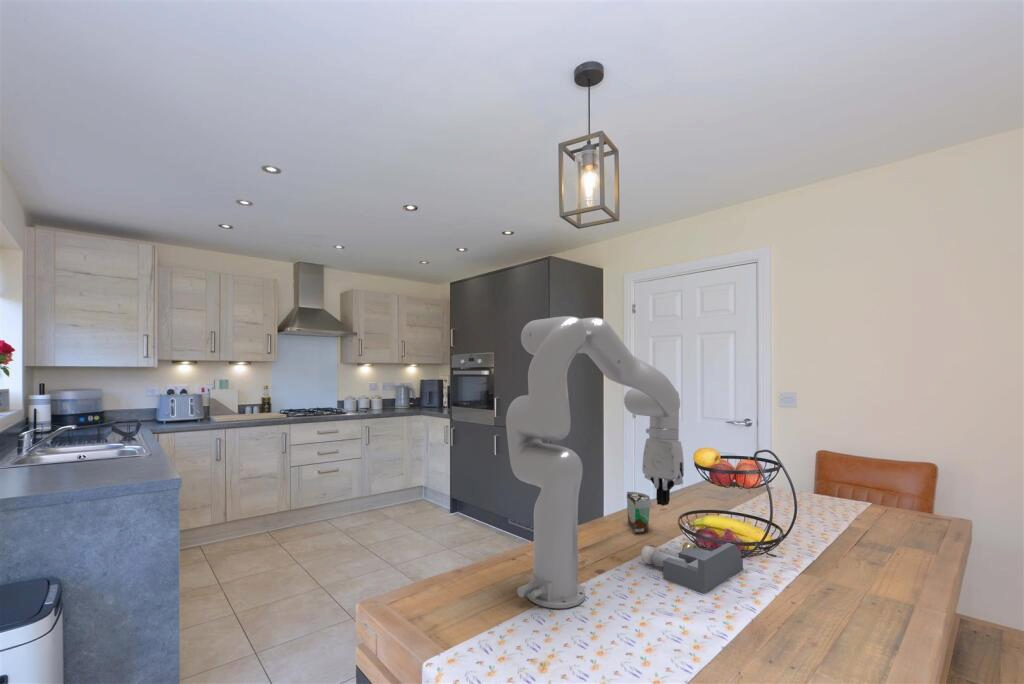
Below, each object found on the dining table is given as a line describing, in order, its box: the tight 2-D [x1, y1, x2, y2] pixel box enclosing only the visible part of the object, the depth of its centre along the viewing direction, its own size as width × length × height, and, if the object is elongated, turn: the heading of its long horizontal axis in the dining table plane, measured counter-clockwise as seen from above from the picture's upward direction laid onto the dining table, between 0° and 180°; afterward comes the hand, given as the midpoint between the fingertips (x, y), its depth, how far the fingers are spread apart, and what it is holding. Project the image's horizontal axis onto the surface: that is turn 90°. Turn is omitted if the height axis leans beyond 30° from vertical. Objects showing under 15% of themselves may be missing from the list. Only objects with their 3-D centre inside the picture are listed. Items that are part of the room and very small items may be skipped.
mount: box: [662, 537, 744, 594], centre depth 115 cm, size 20×10×7 cm, turn 132°
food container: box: [626, 491, 653, 536], centre depth 147 cm, size 12×6×10 cm, turn 179°
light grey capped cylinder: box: [640, 545, 686, 567], centre depth 117 cm, size 4×10×4 cm, turn 42°
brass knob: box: [681, 542, 711, 553], centre depth 120 cm, size 4×10×4 cm, turn 42°
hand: (662, 504), depth 128 cm, fingers closed
